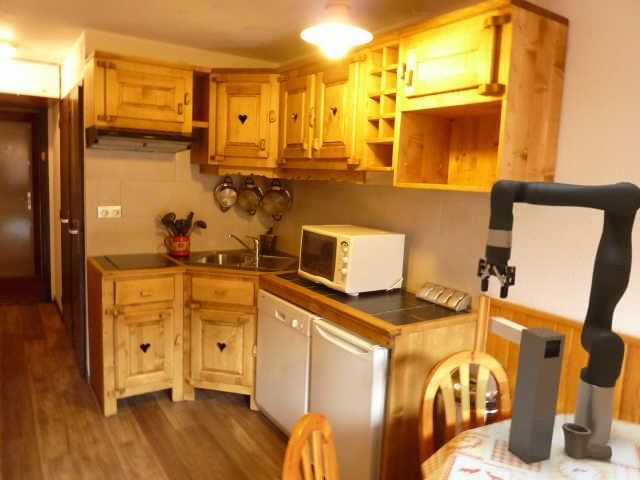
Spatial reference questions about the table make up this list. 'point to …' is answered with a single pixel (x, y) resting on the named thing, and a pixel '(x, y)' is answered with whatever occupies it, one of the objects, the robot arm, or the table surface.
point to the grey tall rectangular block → (536, 394)
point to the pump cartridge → (505, 329)
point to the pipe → (583, 443)
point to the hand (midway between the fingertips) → (493, 294)
